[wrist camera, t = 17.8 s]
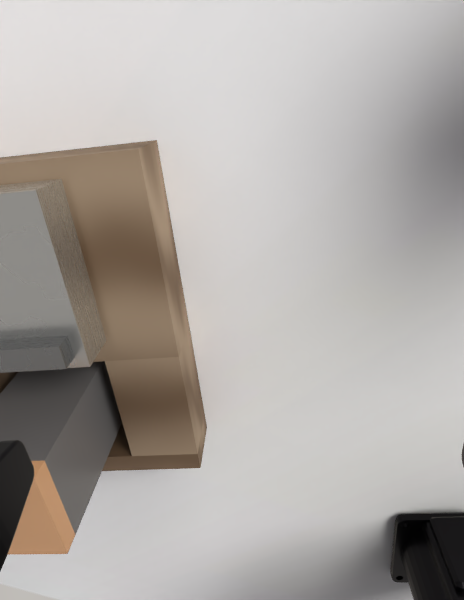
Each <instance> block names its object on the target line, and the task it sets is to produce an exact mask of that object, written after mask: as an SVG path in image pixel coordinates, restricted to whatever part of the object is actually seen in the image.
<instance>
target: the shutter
mask: <svg viewBox="0 0 464 600" xmlns="http://www.w3.org/2000/svg"><path fill="white" fill-rule="evenodd" d="M105 342H106V337H105V333H104V330H103V326H102V323H101V319H100V315H99V312H98V308H97V305H96V301H95V298H94V294H93V290H92V287H91V283H90V280H89V276H88V272H87V269H86V265H85V262H84V258H83V254H82V251H81V247H80V244H79V240H78V236H77V233H76V229H75V226H74V222H73V218H72V215H71V211H70V208H69V204H68V200H67V197H66V193H65V190H64V186H63V182H62V179H56V180H46V181H37V182H27V183H17V184H8V185H0V373H6V372H23V371H41V370H59V369H67V368H79V367H90V366H91V365H92V363H93V361H94V360H95V358H96V357H97V355H98V353H99V352H100V350H101V348H102V347H103V345H104V344H105Z"/></svg>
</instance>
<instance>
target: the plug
mask: <svg viewBox="0 0 464 600" xmlns="http://www.w3.org/2000/svg"><path fill="white" fill-rule="evenodd" d="M121 424H122V420H121V416H120V413H119V409H118V406H117V402H116V399H115V395H114V392H113V388H112V385H111V381H110V378H109V374H108V371H107V367H106V364H105V361H100V362H93V363H92V365H91V366H90V367H79V368H67V369H59V370H41V371H23V372H18V373H17V375H16V376H15V377H14V378H13V379H12V380H11V382H10V383H9V384H8V385H7V386H6V387H5V389H4V390H3V391H2V392H1V393H0V441H4V440H19V441H21V442H22V443H23V444H24V445H25V448H26V450H27V452H28V455H29V457H30V459H31V462H32V464H33V466H34V479H33V482H32V485H31V488H30V491H29V494H28V497H27V500H26V503H25V506H24V509H23V512H22V515H21V518H20V521H19V523H18V526H17V529H16V532H15V535H14V538H13V541H12V544H11V546H10V549H9V552H8V554H68V551H69V549H70V546H71V544H72V542H73V539H74V537H75V534H76V532H77V529H78V527H79V525H80V522H81V520H82V517H83V515H84V513H85V510H86V508H87V505H88V503H89V501H90V498H91V496H92V493H93V491H94V489H95V486H96V484H97V481H98V479H99V477H100V474H101V472H102V469H103V467H104V465H105V462H106V460H107V457H108V455H109V453H110V450H111V448H112V445H113V443H114V441H115V438H116V436H117V433H118V431H119V429H120V426H121Z"/></svg>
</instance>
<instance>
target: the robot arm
mask: <svg viewBox="0 0 464 600" xmlns="http://www.w3.org/2000/svg"><path fill="white" fill-rule="evenodd" d="M462 463H463V467H464V444H463V450H462ZM33 479H34V466H33V464H32V462H31V459H30V457H29V455H28V452H27V450H26V448H25V445H24V444H23V443H22V442H21V441H19V440H4V441H0V571H1V568H2V566H3V564H4V561H5V559H6V557H7V554H8V552H9V549H10V546H11V544H12V541H13V538H14V535H15V532H16V529H17V526H18V523H19V521H20V518H21V515H22V512H23V509H24V506H25V503H26V500H27V497H28V494H29V491H30V488H31V485H32V482H33ZM391 576H392V579H393V581H395V582H409V586H410V589H411V592H412V595H413V599H414V600H464V513H463V514H409V515H400V516H398V517H397V518H396V520H395V530H394V541H393V552H392V562H391Z"/></svg>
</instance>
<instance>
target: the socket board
mask: <svg viewBox="0 0 464 600" xmlns="http://www.w3.org/2000/svg"><path fill="white" fill-rule="evenodd" d="M56 179H62V182H63V186H64V190H65V193H66V197H67V200H68V204H69V208H70V211H71V215H72V218H73V222H74V226H75V229H76V233H77V236H78V240H79V244H80V247H81V251H82V254H83V258H84V262H85V265H86V269H87V272H88V276H89V280H90V283H91V287H92V290H93V294H94V298H95V301H96V305H97V308H98V312H99V315H100V319H101V323H102V326H103V330H104V333H105V337H106V342H105V344H104V345H103V347H102V348H101V350H100V352H99V353H98V355H97V357H96V358H95V360H94V361H93V362H100V361H105V364H106V367H107V371H108V374H109V378H110V381H111V385H112V388H113V392H114V395H115V399H116V402H117V406H118V409H119V413H120V416H121V420H122V424H121V426H120V429H119V431H118V433H117V436H116V438H115V441H114V443H113V445H112V448H111V450H110V453H109V455H108V457H107V460H106V462H105V465H104V467H103V469H102V471H115V470H147V469H180V468H200V467H201V461H202V454H203V448H204V442H205V435H206V429H207V426H206V420H205V414H204V408H203V403H202V397H201V391H200V386H199V380H198V374H197V368H196V363H195V357H194V351H193V346H192V340H191V334H190V328H189V323H188V317H187V311H186V305H185V300H184V294H183V288H182V283H181V277H180V271H179V265H178V260H177V254H176V248H175V243H174V237H173V231H172V225H171V220H170V214H169V208H168V202H167V197H166V191H165V185H164V180H163V174H162V168H161V162H160V157H159V151H158V145H157V140H155V141H146V142H137V143H128V144H119V145H110V146H101V147H92V148H83V149H74V150H65V151H56V152H47V153H38V154H29V155H20V156H11V157H2V158H0V185H8V184H17V183H27V182H37V181H46V180H56ZM17 373H18V372H6V373H0V393H1V392H2V391H3V390H4V389H5V387H6V386H7V385H8V384H9V383H10V382H11V380H12V379H13V378H14V377H15V376H16V375H17Z"/></svg>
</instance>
